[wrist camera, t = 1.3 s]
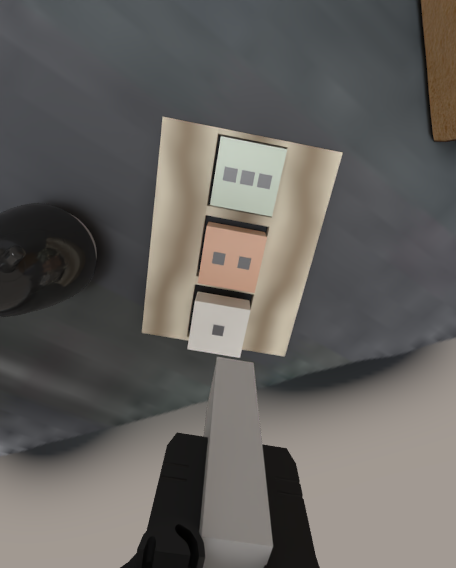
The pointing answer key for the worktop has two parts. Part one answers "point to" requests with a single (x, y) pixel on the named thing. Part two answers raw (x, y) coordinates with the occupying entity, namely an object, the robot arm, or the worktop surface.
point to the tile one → (218, 324)
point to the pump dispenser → (42, 258)
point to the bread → (441, 65)
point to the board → (194, 207)
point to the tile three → (247, 176)
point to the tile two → (231, 257)
